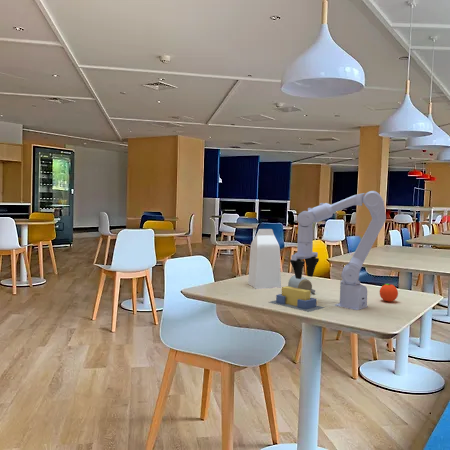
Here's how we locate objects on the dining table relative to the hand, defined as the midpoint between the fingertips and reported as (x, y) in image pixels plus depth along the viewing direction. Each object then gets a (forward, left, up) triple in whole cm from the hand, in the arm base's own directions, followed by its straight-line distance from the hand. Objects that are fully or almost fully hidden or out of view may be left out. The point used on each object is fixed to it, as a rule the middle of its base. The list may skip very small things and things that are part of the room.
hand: (304, 277), depth 176 cm
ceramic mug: (+10, -13, -10) cm, 20 cm away
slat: (-1, +6, -10) cm, 11 cm away
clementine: (-20, -28, -10) cm, 36 cm away
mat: (-1, +6, -10) cm, 12 cm away
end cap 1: (+4, +6, -10) cm, 12 cm away
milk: (+32, -13, -10) cm, 36 cm away
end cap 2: (-6, +6, -9) cm, 13 cm away
